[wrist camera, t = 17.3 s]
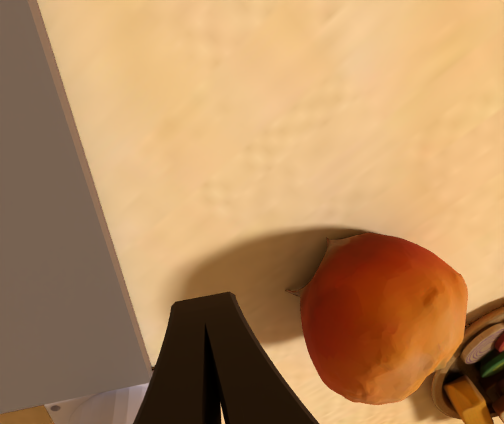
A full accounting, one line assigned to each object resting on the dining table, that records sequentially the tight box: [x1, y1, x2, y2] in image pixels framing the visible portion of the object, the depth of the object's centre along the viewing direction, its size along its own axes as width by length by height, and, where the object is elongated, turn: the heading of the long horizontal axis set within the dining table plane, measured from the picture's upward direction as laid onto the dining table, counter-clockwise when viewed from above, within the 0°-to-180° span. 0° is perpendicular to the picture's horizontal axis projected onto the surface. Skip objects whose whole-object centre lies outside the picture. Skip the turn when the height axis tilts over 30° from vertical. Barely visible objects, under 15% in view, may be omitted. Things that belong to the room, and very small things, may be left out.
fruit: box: [285, 232, 468, 405], centre depth 20 cm, size 8×8×8 cm
